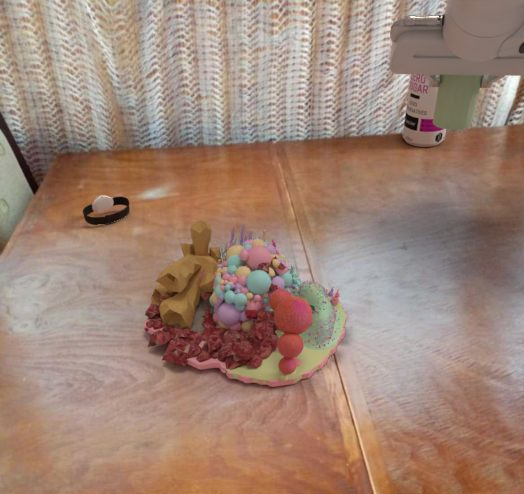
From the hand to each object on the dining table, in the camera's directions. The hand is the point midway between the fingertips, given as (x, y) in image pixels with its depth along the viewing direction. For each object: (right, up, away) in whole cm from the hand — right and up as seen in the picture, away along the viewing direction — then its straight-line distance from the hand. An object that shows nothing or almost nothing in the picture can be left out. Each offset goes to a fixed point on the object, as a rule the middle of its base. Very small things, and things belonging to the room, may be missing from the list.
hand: (459, 82), depth 76 cm
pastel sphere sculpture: (-30, -34, -8) cm, 46 cm away
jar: (0, -4, +3) cm, 5 cm away
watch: (-53, -16, +12) cm, 57 cm away
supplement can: (+4, +4, +32) cm, 33 cm away
